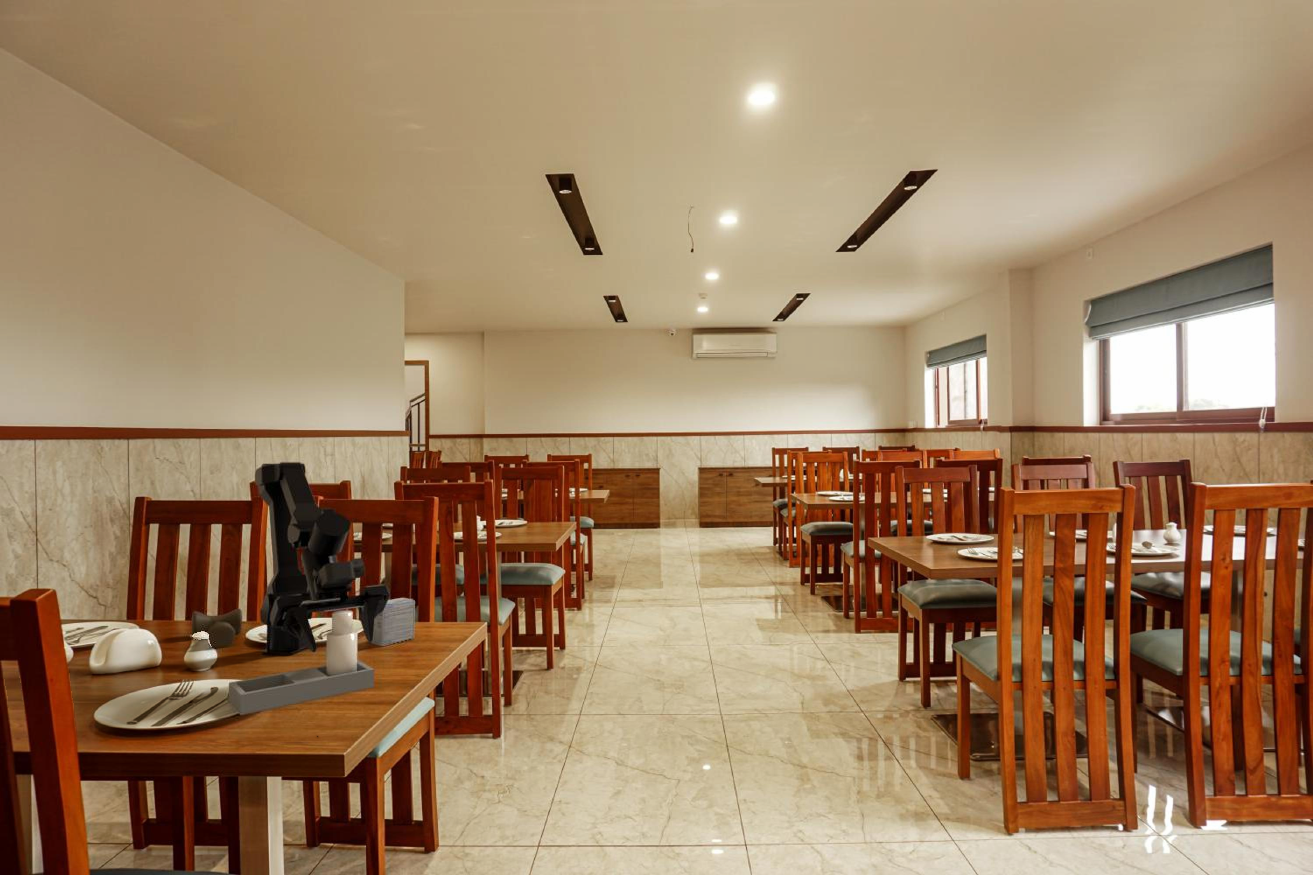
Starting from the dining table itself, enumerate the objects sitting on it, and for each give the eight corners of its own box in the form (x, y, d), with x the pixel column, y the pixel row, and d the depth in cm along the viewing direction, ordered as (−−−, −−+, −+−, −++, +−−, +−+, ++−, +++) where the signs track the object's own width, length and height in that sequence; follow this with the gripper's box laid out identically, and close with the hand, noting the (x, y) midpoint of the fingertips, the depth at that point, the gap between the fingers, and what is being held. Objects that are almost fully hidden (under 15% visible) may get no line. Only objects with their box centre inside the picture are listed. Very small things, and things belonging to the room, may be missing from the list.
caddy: (228, 705, 115) (228, 682, 115) (356, 679, 129) (357, 659, 129) (240, 718, 109) (240, 694, 109) (373, 690, 123) (374, 669, 123)
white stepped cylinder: (320, 690, 121) (321, 615, 121) (336, 681, 126) (337, 609, 126) (347, 691, 120) (348, 615, 121) (362, 682, 125) (363, 609, 125)
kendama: (193, 654, 147) (189, 632, 164) (247, 648, 153) (238, 627, 169) (194, 625, 147) (190, 605, 164) (248, 620, 153) (239, 602, 169)
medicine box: (402, 636, 160) (403, 597, 160) (414, 639, 157) (415, 599, 158) (370, 643, 154) (370, 602, 154) (382, 647, 151) (383, 605, 151)
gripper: (275, 548, 121) (294, 626, 112) (386, 540, 133) (411, 609, 125) (262, 589, 126) (279, 666, 118) (370, 577, 139) (392, 646, 130)
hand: (343, 645), depth 123 cm, fingers open, 9 cm apart
